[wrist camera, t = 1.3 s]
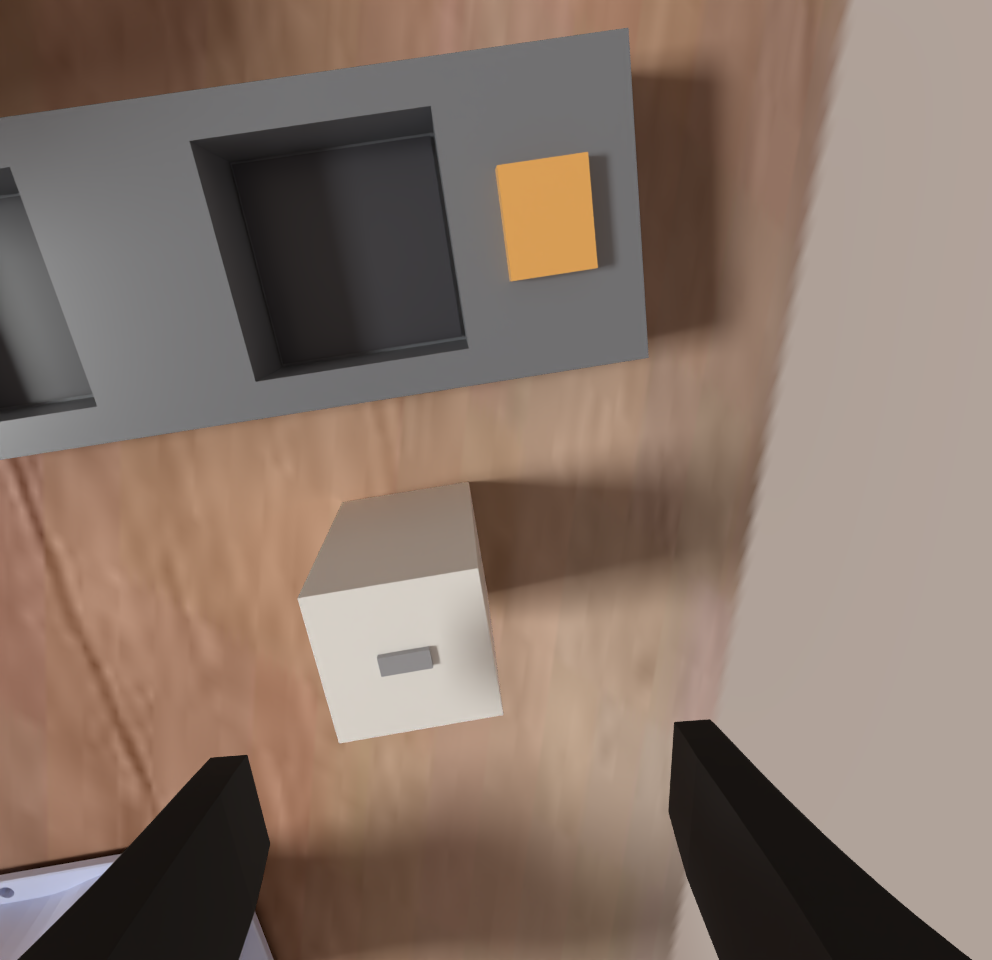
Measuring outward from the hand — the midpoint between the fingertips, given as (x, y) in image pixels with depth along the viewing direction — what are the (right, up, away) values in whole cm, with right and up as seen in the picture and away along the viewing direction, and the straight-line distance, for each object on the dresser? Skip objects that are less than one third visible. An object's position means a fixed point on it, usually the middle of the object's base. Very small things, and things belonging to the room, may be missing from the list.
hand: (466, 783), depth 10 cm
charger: (-2, +3, +9) cm, 10 cm away
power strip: (-6, +11, +6) cm, 14 cm away
